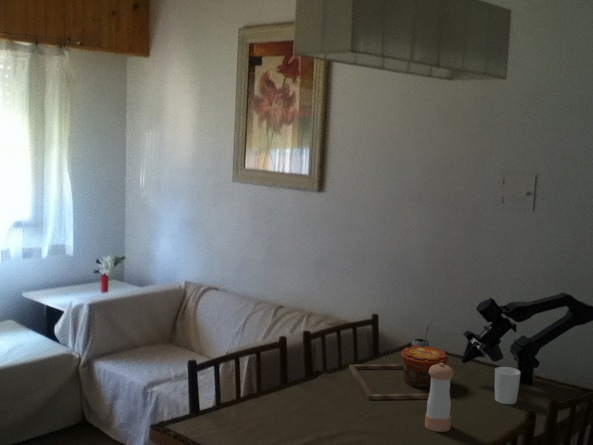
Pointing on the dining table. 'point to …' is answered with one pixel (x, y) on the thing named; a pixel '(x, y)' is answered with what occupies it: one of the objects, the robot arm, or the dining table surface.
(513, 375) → the white cup
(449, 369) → the pepper shaker
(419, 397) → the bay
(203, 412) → the dining table surface
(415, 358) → the food container
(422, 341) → the mate gourd
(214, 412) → the dining table surface
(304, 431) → the dining table surface
